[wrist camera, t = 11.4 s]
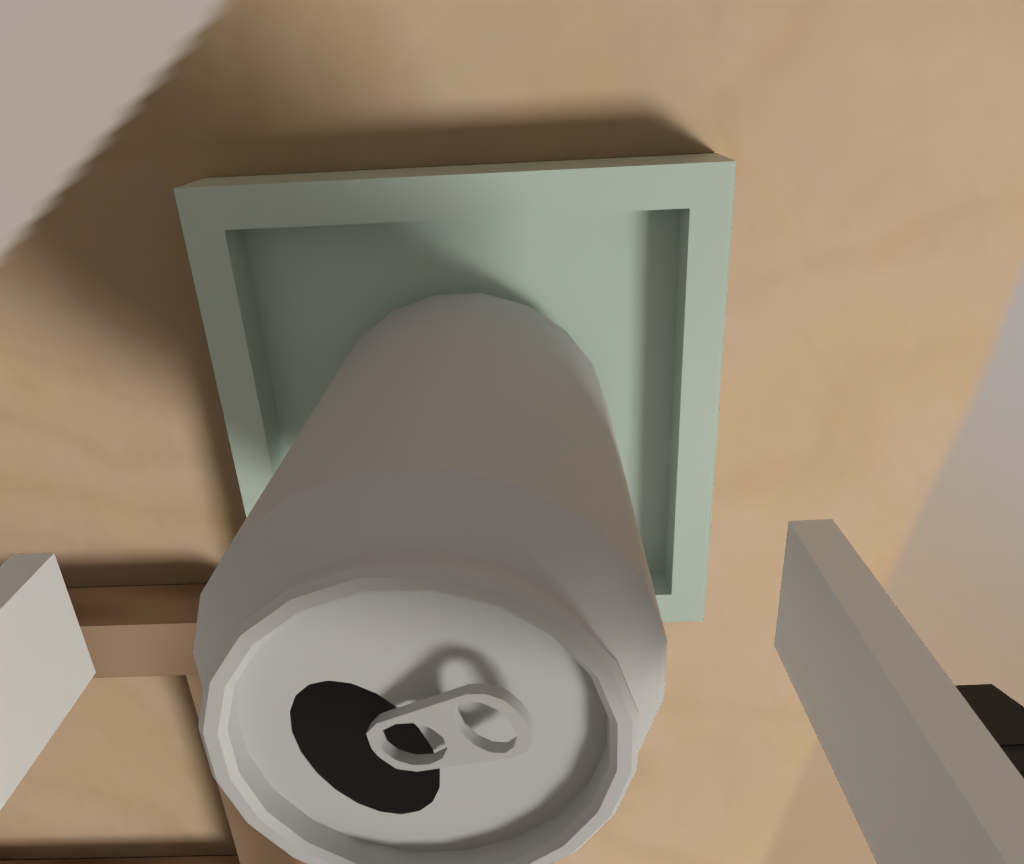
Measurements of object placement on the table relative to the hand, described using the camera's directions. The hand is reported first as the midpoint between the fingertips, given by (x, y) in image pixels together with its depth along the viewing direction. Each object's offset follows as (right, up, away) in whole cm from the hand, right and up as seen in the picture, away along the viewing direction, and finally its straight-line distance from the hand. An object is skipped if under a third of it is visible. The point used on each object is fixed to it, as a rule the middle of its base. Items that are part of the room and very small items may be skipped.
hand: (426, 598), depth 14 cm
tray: (+1, +4, +8) cm, 9 cm away
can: (0, +4, +8) cm, 9 cm away
